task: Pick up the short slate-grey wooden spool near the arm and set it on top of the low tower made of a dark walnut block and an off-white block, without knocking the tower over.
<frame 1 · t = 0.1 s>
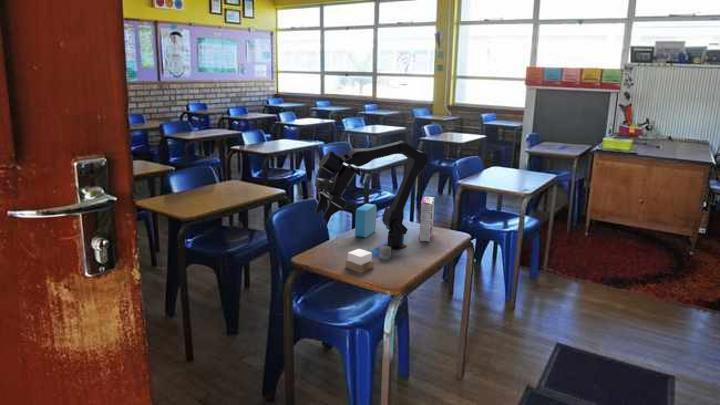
hand: (319, 215, 197), 15 cm above the table, tool tilted 35°, fingers open, 9 cm apart
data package: (365, 234, 226), on the table
candy bar box: (425, 238, 223), on the table
spool: (384, 257, 199), on the table
top block: (359, 260, 188), point 3 cm above the table, touching bottom block
bottom block: (359, 268, 189), on the table, touching top block
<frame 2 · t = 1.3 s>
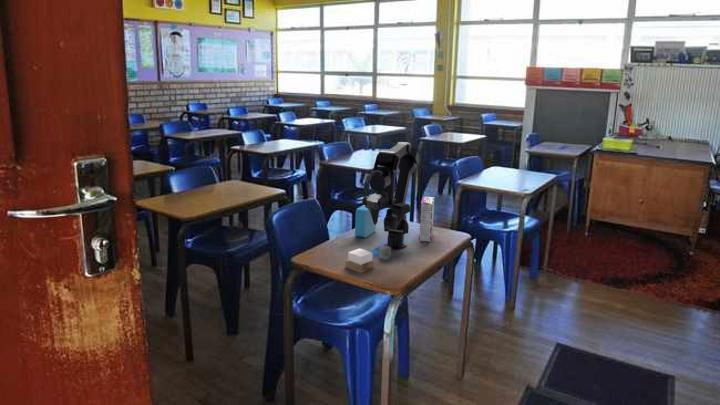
hand: (384, 227, 195), 12 cm above the table, tool pointing down, fingers open, 9 cm apart
nothing on the table moved.
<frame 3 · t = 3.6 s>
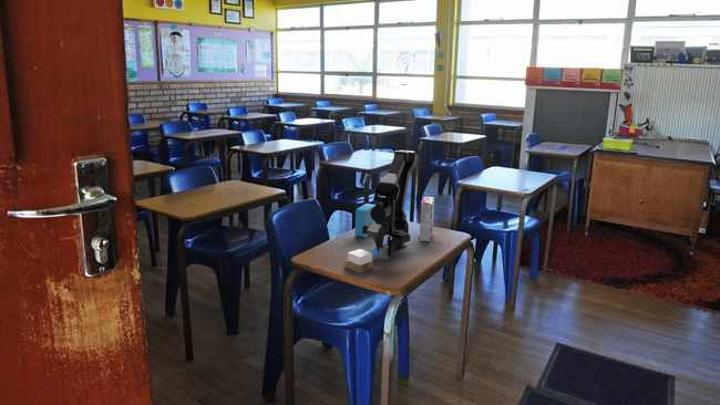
hand: (384, 255, 198), 1 cm above the table, tool pointing down, fingers closed on spool, 4 cm apart
spool: (384, 257, 199), on the table, touching gripper
everything else where it was.
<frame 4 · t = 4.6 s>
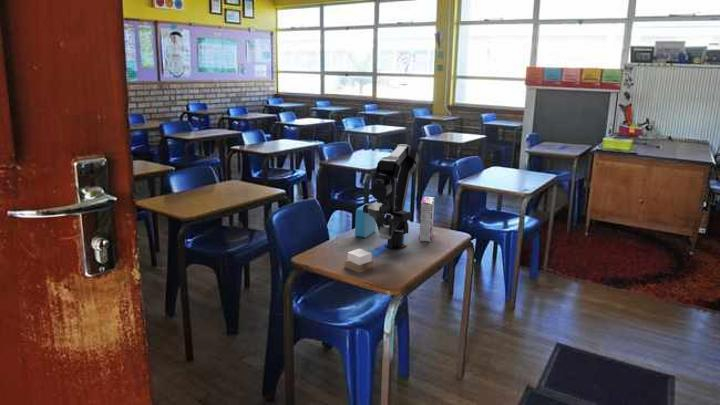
hand: (385, 234, 196), 9 cm above the table, tool pointing down, fingers closed on spool, 4 cm apart
spool: (385, 237, 196), point 8 cm above the table, touching gripper
everything else where it was.
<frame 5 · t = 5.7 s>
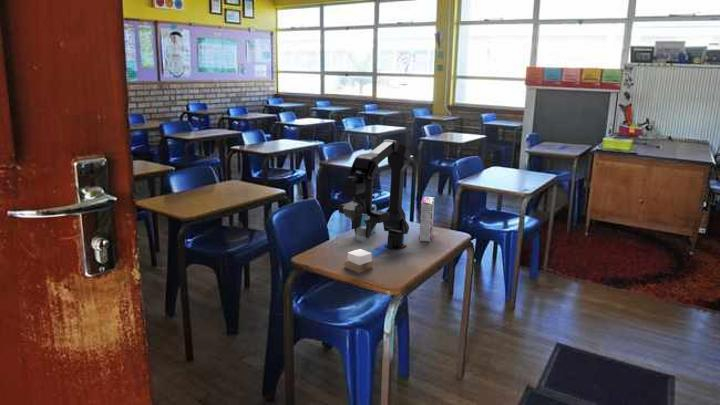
hand: (362, 236, 186), 11 cm above the table, tool pointing down, fingers closed on spool, 4 cm apart
spool: (362, 239, 186), point 10 cm above the table, touching gripper
everything else where it was.
when the fingers open (8 cm above the table, at t = 6.8 s): spool stays where it is, point 6 cm above the table.
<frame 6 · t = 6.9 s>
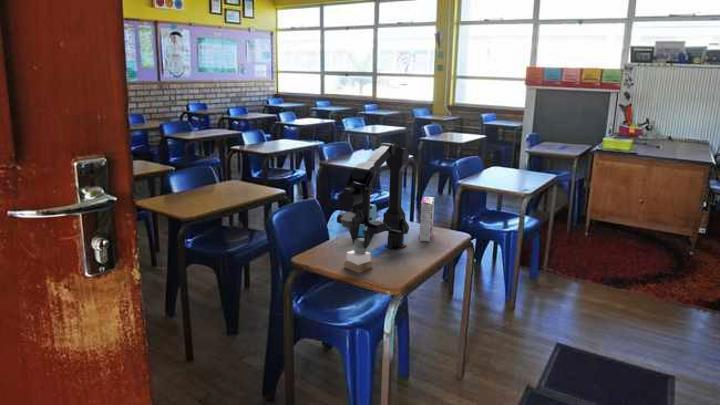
hand: (360, 246, 186), 8 cm above the table, tool pointing down, fingers open, 5 cm apart
spool: (360, 250, 187), point 6 cm above the table
everything else where it was.
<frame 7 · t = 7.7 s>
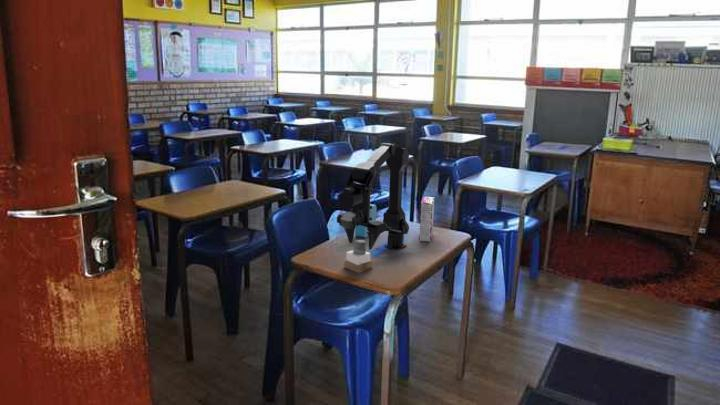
hand: (360, 246, 186), 8 cm above the table, tool pointing down, fingers open, 9 cm apart
spool: (359, 252, 187), point 6 cm above the table, touching top block
top block: (358, 260, 188), point 3 cm above the table, touching bottom block, spool
everything else where it was.
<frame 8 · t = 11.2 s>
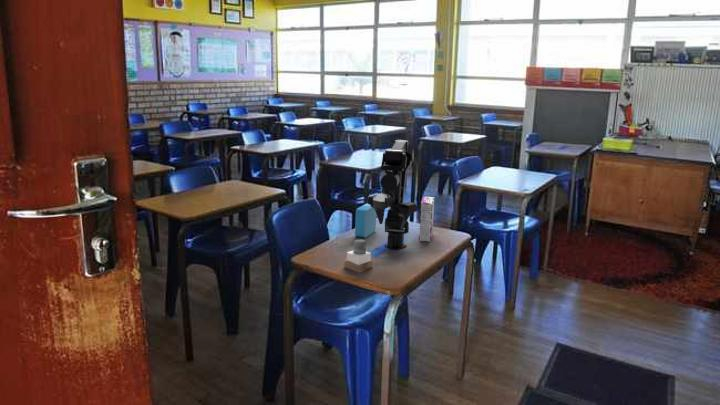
hand: (390, 226, 193), 13 cm above the table, tool pointing down, fingers open, 9 cm apart
nothing on the table moved.
at the end: spool 0.4 cm off-centre on the top block, point 3.0 cm above the top block's base; spool tilted 0°; top block 0.2 cm from the bottom block (horizontally) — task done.
